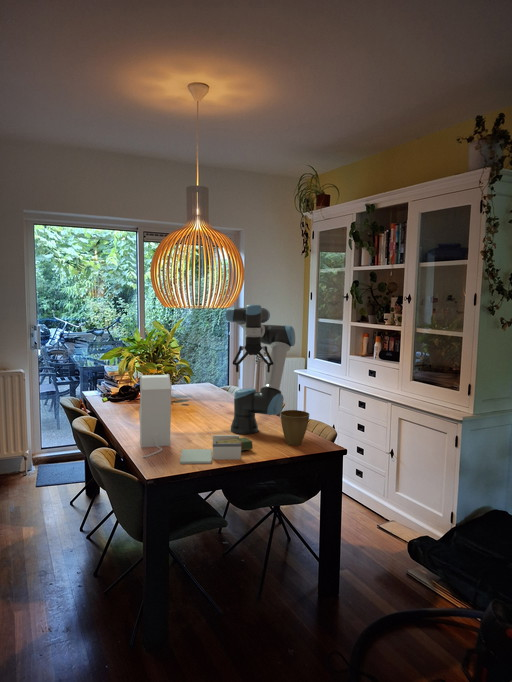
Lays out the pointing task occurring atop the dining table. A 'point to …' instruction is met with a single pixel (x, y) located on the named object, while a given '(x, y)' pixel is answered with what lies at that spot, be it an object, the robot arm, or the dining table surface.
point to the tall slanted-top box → (155, 411)
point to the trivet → (196, 456)
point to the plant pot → (294, 426)
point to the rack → (226, 447)
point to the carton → (245, 442)
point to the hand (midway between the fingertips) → (252, 378)
